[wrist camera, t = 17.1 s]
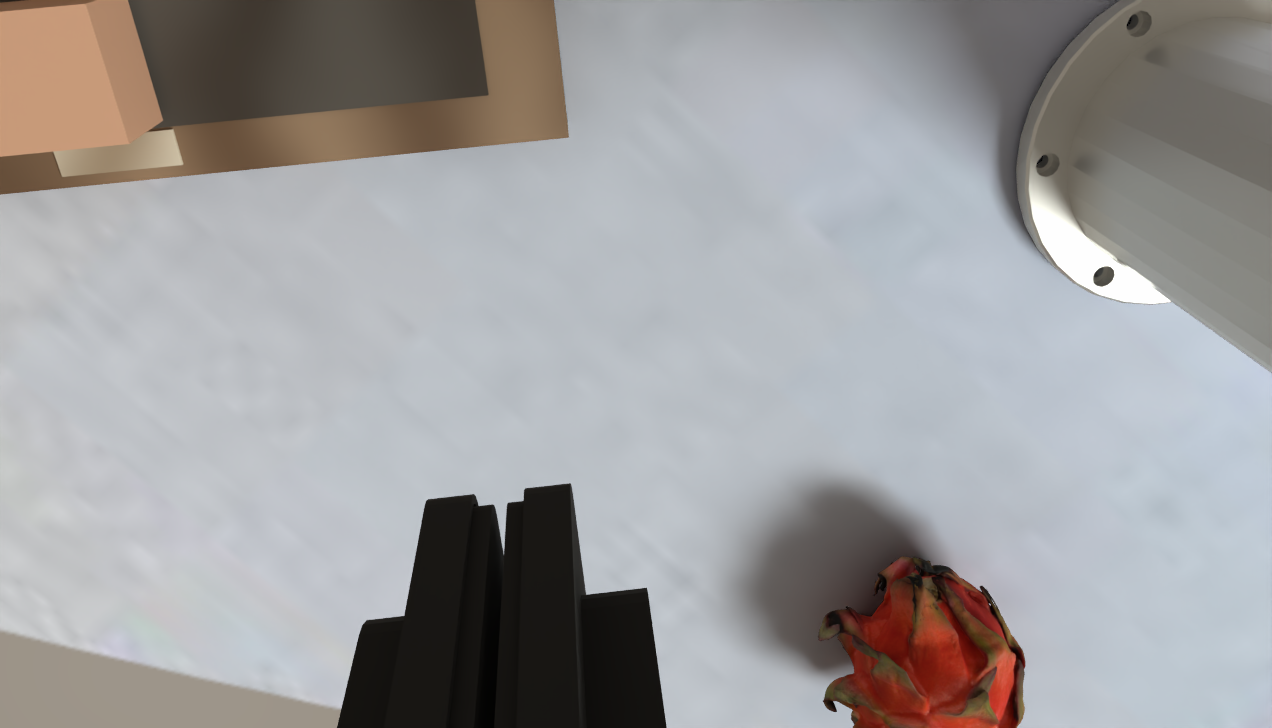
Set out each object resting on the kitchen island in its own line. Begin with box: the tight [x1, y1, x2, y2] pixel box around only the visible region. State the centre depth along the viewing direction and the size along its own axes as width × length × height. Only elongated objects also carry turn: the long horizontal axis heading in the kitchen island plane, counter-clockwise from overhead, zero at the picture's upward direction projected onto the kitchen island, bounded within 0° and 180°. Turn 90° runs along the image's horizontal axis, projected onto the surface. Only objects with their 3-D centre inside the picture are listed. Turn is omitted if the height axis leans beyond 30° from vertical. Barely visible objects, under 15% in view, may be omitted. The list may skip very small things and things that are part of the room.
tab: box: [0, 0, 163, 157], centre depth 31 cm, size 4×4×3 cm
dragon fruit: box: [818, 556, 1025, 728], centre depth 45 cm, size 8×8×12 cm
